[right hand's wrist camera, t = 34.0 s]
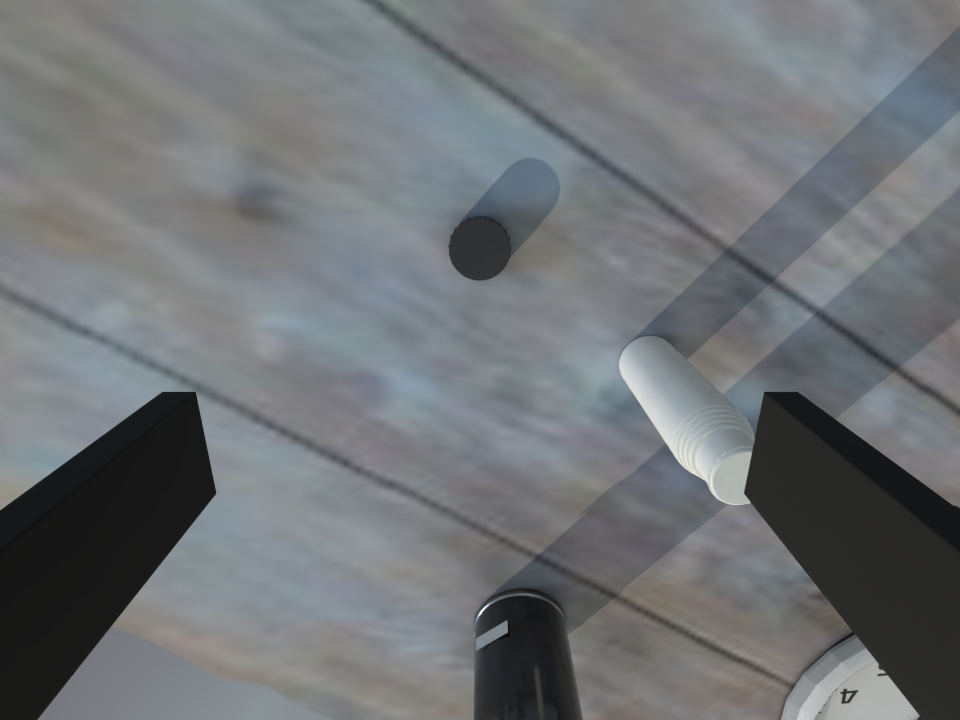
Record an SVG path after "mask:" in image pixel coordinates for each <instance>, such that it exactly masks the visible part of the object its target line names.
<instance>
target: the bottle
mask: <svg viewBox="0 0 960 720" xmlns="http://www.w3.org/2000/svg"><path fill="white" fill-rule="evenodd" d="M619 368H620V372H621V375H622V377H623V378H624V380H625V381H626V383H627V384H628V386H629V387H630V389H631V390H632V392H633V393H634V395H635V396H636V398H637V400H638V401H639V403H640V404H641V406H642V407H643V409H644V410H645V412H646V413H647V415H648V416H649V418H650V419H651V421H652V422H653V424H654V425H655V427H656V428H657V430H658V431H659V433H660V434H661V436H662V438H663V439H664V441H665V442H666V444H667V445H668V447H669V448H670V450H671V451H672V453H673V454H674V456H675V457H676V459H677V460H678V462H679V463H680V464H681V465H682V466H683V467H684V468H685V469H687V470H688V471H689V472H691V473H693V474H695V475H697V476H698V477H700V478H702V479H703V480H705V481H706V482H707V484H708V486H709V489H710V491H711V493H712V494H713V495H714V496H715V497H716V498H717V499H719V500H720V501H722V502H724V503H728V504H731V505H743V504H749V503H751V502H750V501H749V499H748V498H747V497H746V496H745V494H744V490H745V485H746V480H747V475H748V470H749V465H750V460H751V455H752V450H753V445H754V440H755V437H754V433H753V430H752V427H751V425H750V423H749V422H748V420H747V419H746V417H745V416H744V415H743V414H742V413H741V412H740V411H739V410H738V409H737V408H736V407H735V406H734V405H733V404H732V403H731V402H730V401H729V400H728V399H727V398H725V397H724V396H723V395H722V394H721V393H720V392H719V391H718V390H717V389H716V388H715V387H714V386H713V385H712V384H711V383H710V382H709V381H708V380H707V379H706V378H705V377H704V376H703V375H702V374H701V373H700V372H699V371H698V370H697V369H695V368H694V367H693V366H692V365H691V364H690V363H689V362H688V361H687V360H686V359H685V358H684V357H683V356H682V355H681V354H680V353H679V352H678V351H677V350H676V349H675V348H674V347H673V346H672V345H671V344H670V343H669V342H667V341H666V340H665V339H663V338H660V337H657V336H644V337H640V338H638V339H636V340H634V341H632V342H631V343H630V344H629V345H628V346H627V347H626V348H625V349H624V351H623V352H622V354H621V357H620V361H619Z"/></svg>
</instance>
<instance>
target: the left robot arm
mask: <svg viewBox="0 0 960 720" xmlns="http://www.w3.org/2000/svg"><path fill="white" fill-rule="evenodd" d="M474 636H475V658H474V720H583V718H582V712H581V707H580V701H579V696H578V690H577V685H576V679H575V674H574V668H573V663H572V657H571V651H570V646H569V640H568V635H567V624H566V619H565V615H564V612H563V610H562V609H561V607H560V606H559V605H558V604H557V603H556V602H555V601H554V600H553V599H551V598H550V597H548V596H546V595H544V594H542V593H539V592H536V591H531V590H511V591H507V592H503V593H500V594H498V595H496V596H494V597H492V598H490V599H489V600H488V601H486V602H485V603H484V604H483V605H482V606H481V608H480V609H479V610H478V612H477V614H476V617H475V621H474Z"/></svg>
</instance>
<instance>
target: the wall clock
mask: <svg viewBox="0 0 960 720" xmlns="http://www.w3.org/2000/svg"><path fill="white" fill-rule="evenodd" d="M781 720H923V719H922V718H921V717H920V716H919V714H918V713H917V712H916V711H915V709H914V708H913V707H912V706H911V704H910V703H909V702H908V700H907V699H906V698H905V697H904V695H903V694H902V693H901V692H900V690H899V689H898V688H897V687H896V685H895V684H894V683H893V682H892V680H891V679H890V678H889V676H888V675H887V674H886V673H885V671H884V670H883V669H882V668H881V666H880V665H879V664H878V663H877V661H876V660H875V659H874V658H873V656H872V655H871V654H870V652H869V651H868V650H867V649H866V647H865V646H864V645H863V644H862V642H861V641H860V640H859V639H858V637H857V636H856V635H853V636H851V637H850V638H848V639H846V640H845V641H843V642H841V643H840V644H838V645H836V646H835V647H833V648H831V649H830V650H829V651H827V652H826V653H825V654H824V655H823V656H822V657H821V658H820V659H819V660H818V661H817V662H815V663H814V664H813V665H812V666H811V667H810V668H809V669H808V670H807V671H806V672H805V673H804V674H803V675H802V677H801V678H800V680H799V681H798V683H797V684H796V686H795V687H794V689H793V690H792V692H791V693H790V695H789V696H788V698H787V700H786V703H785V707H784V710H783V714H782V717H781Z"/></svg>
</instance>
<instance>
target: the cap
mask: <svg viewBox="0 0 960 720" xmlns="http://www.w3.org/2000/svg"><path fill="white" fill-rule="evenodd" d="M509 240H510V239H509V237H508V236H507V234H506V230H504V229H503V227H502V226H501V225H500V223H497V222H496V221H494V220H493V219H490V218H487V217H485V216H484V217H477V216H476V217H473V218H468V219H467V220H465V221H464V222H461V223H460V225H459V226H458V227H457V228H455V230H454V233H453V235H451V240H450V244H449V255H450V259H451V261H452V264H453V265H454V267H455V268H456V270H457V271H458V272H459V273H460V274H462V275H463V276H465V277H467V278H469V279H472V280H487V279H490V278H493V277H495V276H496V275H498V274H499V273H500V272H501V271H502V270H503V269H504V268H505V266H506V265H507V262H508V260H509V257H510V249H511V247H510V243H509Z"/></svg>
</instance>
